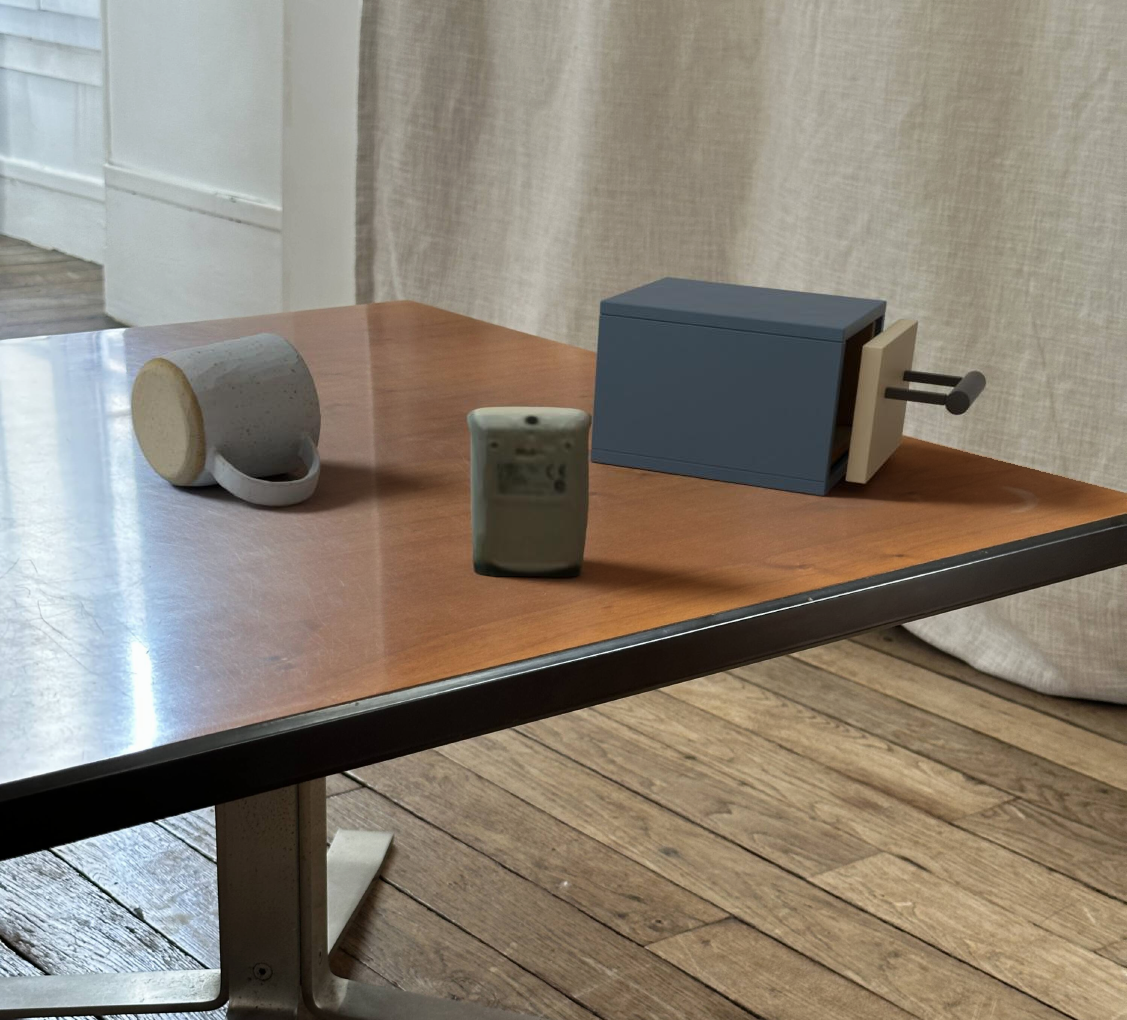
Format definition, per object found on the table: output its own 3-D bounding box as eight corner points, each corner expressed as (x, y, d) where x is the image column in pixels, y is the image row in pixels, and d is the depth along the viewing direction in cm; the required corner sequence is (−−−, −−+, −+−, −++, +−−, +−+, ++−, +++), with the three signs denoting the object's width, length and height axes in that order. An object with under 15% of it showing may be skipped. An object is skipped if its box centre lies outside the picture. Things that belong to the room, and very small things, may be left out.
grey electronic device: (502, 595, 74) (509, 423, 70) (442, 564, 77) (446, 399, 74) (600, 577, 77) (611, 411, 73) (538, 548, 81) (546, 389, 77)
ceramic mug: (124, 473, 89) (117, 333, 86) (248, 454, 94) (245, 321, 91) (232, 521, 82) (229, 372, 79) (359, 498, 88) (360, 356, 84)
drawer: (978, 455, 101) (998, 329, 98) (950, 496, 91) (972, 358, 88) (699, 417, 106) (710, 297, 103) (645, 452, 97) (655, 320, 93)
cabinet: (867, 452, 104) (887, 300, 100) (824, 496, 93) (844, 328, 89) (654, 422, 108) (665, 276, 104) (589, 461, 98) (599, 300, 94)
